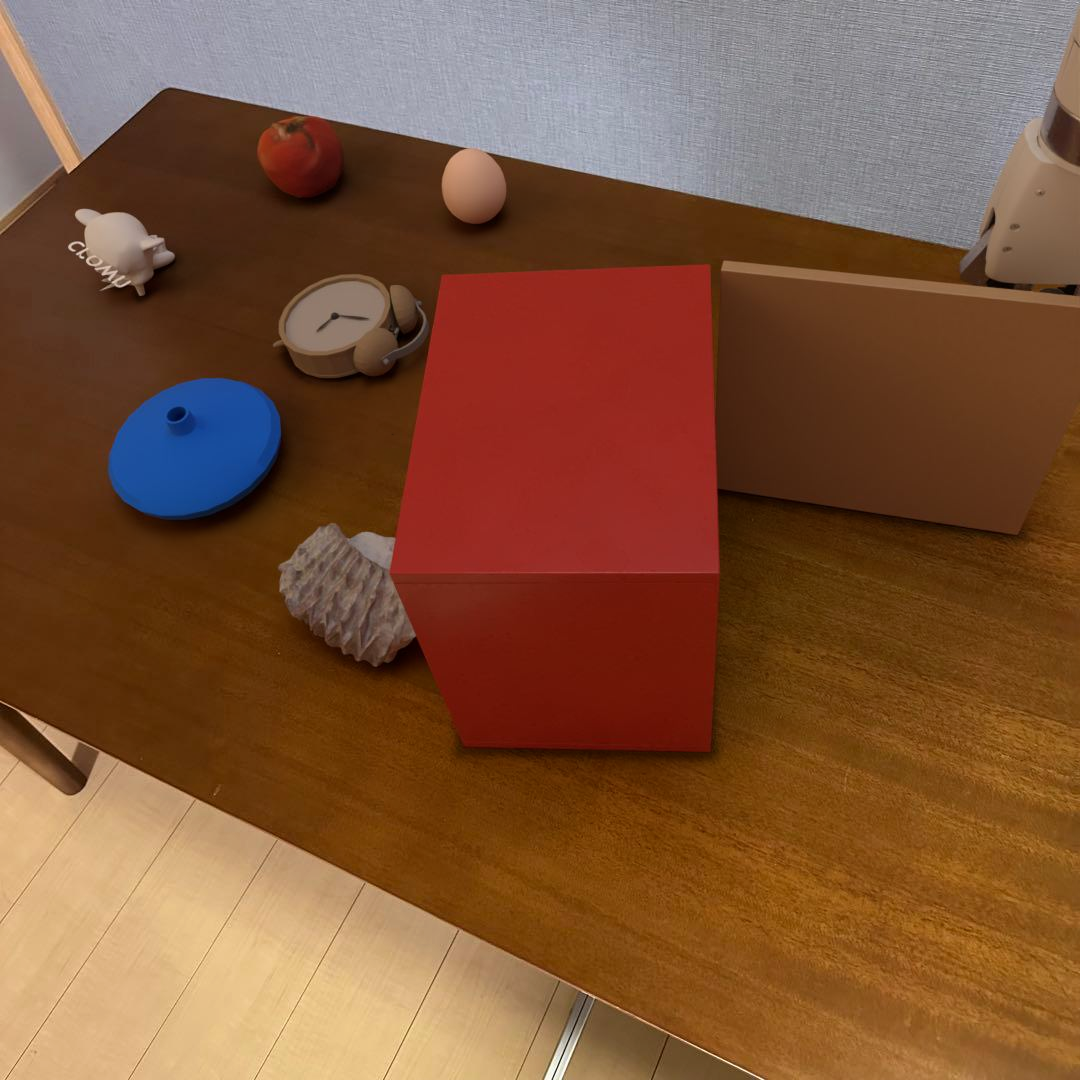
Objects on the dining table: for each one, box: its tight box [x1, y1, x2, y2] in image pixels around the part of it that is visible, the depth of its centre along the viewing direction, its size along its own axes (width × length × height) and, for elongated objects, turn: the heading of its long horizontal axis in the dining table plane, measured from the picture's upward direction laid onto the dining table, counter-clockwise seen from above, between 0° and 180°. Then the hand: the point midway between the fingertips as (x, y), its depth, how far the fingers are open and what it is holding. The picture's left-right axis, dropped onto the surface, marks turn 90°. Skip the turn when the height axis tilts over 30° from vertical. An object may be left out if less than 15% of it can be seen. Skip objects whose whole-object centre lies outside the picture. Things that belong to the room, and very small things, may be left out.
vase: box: [107, 377, 282, 521], centre depth 93 cm, size 16×16×7 cm
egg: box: [441, 147, 507, 225], centre depth 108 cm, size 7×7×8 cm
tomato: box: [257, 115, 345, 199], centre depth 115 cm, size 9×9×8 cm
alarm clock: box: [272, 273, 430, 379], centre depth 101 cm, size 11×5×15 cm
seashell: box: [277, 522, 417, 667], centre depth 82 cm, size 14×9×10 cm
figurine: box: [67, 208, 176, 297], centre depth 109 cm, size 12×8×10 cm
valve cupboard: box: [389, 263, 721, 753], centre depth 73 cm, size 18×24×24 cm
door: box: [715, 260, 1080, 536], centre depth 77 cm, size 8×24×24 cm, turn 74°
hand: (1027, 341), depth 77 cm, fingers closed on door, 2 cm apart
